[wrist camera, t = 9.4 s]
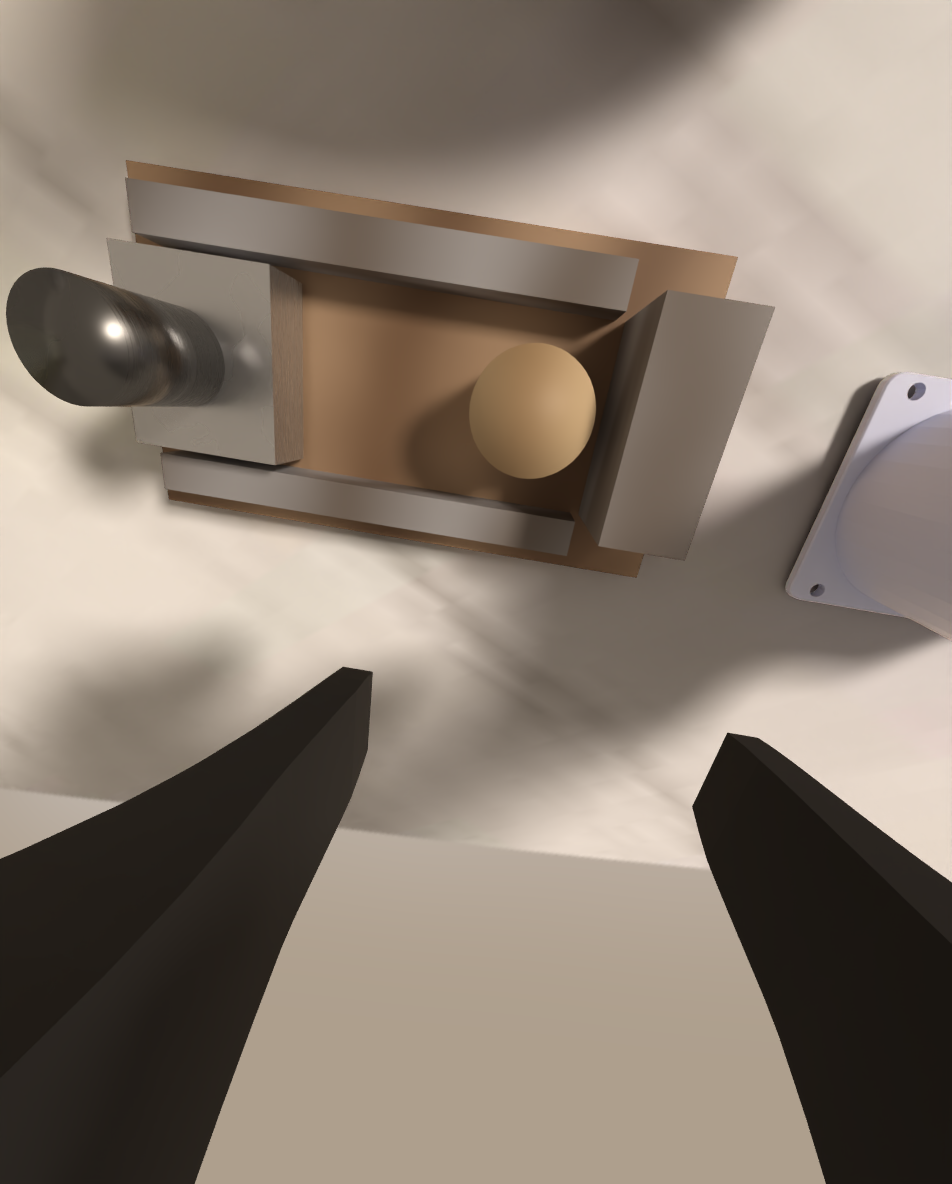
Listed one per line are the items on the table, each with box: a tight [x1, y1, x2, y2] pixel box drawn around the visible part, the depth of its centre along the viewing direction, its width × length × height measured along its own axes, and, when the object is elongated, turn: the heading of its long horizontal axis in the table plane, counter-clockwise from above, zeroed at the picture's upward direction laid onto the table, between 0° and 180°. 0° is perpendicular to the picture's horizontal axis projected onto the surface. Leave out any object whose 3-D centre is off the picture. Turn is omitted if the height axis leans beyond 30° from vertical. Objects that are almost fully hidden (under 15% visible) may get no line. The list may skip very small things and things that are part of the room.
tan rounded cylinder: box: [469, 343, 596, 479], centre depth 13 cm, size 3×3×3 cm
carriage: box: [6, 238, 303, 465], centre depth 12 cm, size 4×5×6 cm
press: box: [125, 160, 775, 578], centre depth 13 cm, size 18×10×5 cm, turn 81°
